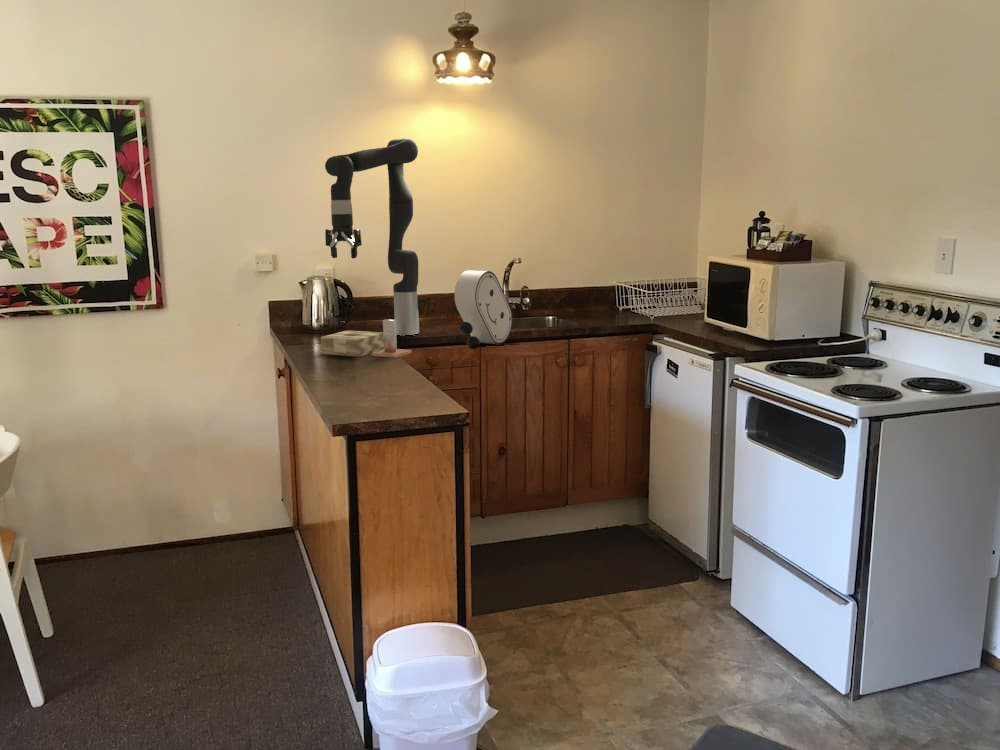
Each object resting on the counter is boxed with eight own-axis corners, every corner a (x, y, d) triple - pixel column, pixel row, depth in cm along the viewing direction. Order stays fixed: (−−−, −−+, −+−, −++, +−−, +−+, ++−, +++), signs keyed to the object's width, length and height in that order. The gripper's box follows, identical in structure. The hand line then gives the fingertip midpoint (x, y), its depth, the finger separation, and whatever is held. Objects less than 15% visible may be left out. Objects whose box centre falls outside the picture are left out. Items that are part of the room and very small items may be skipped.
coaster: (387, 351, 308) (387, 348, 308) (411, 352, 304) (411, 350, 304) (371, 355, 300) (371, 353, 299) (396, 357, 295) (395, 354, 295)
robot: (460, 309, 294) (489, 261, 306) (439, 308, 298) (469, 261, 311) (490, 368, 314) (516, 321, 327) (470, 366, 318) (497, 319, 331)
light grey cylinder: (388, 349, 305) (387, 318, 302) (399, 350, 303) (397, 319, 300) (381, 352, 301) (380, 320, 298) (392, 352, 299) (391, 321, 296)
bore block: (348, 346, 319) (347, 330, 318) (385, 349, 312) (384, 332, 311) (321, 353, 305) (320, 336, 304) (359, 356, 298) (358, 339, 297)
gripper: (364, 212, 313) (366, 257, 316) (332, 212, 319) (334, 257, 322) (352, 213, 306) (354, 259, 310) (319, 213, 312) (322, 258, 316)
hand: (344, 258), depth 316 cm, fingers open, 8 cm apart
